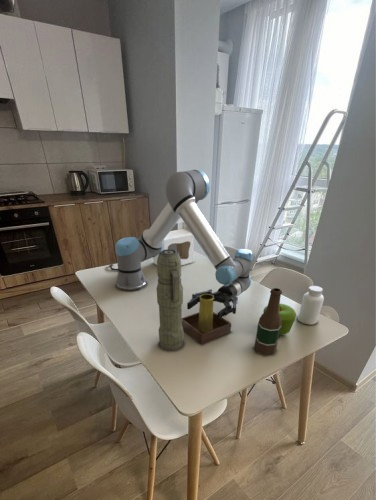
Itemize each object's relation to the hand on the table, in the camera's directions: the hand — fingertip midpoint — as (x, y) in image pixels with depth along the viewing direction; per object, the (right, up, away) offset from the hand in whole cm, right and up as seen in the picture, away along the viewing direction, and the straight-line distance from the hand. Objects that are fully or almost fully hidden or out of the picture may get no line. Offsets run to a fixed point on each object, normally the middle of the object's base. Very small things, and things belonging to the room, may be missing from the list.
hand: (202, 311), depth 110 cm
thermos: (-12, -13, -1) cm, 17 cm away
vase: (+1, -7, +7) cm, 9 cm away
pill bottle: (+46, -3, +14) cm, 48 cm away
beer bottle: (+23, -15, -4) cm, 27 cm away
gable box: (-15, +36, +72) cm, 82 cm away
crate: (+1, -7, +7) cm, 10 cm away
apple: (+30, -8, +7) cm, 32 cm away
